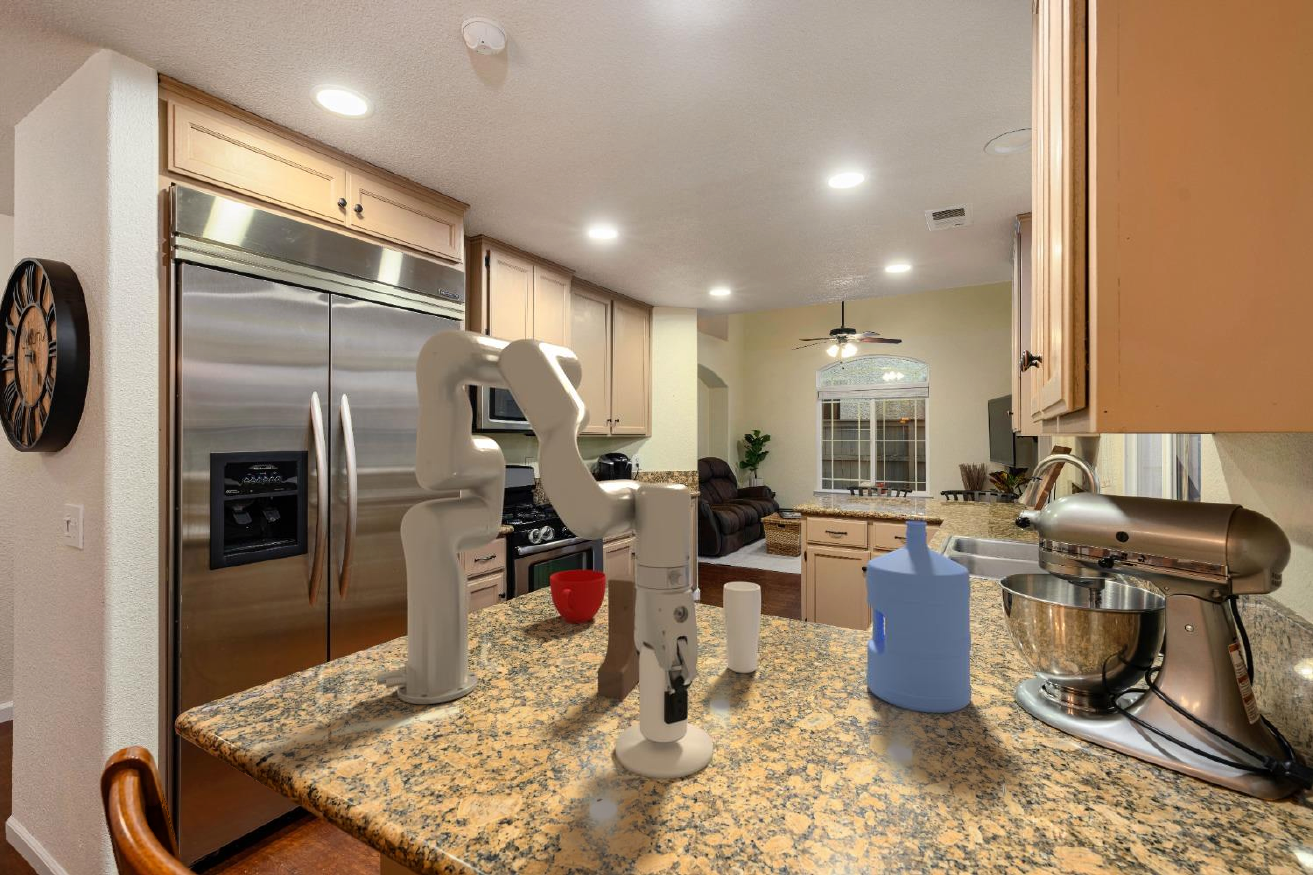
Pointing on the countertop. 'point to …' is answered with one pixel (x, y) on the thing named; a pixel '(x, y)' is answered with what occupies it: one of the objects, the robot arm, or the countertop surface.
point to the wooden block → (620, 640)
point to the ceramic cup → (578, 594)
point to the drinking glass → (742, 624)
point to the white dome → (664, 753)
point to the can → (656, 700)
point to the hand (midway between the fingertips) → (663, 708)
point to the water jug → (919, 627)
